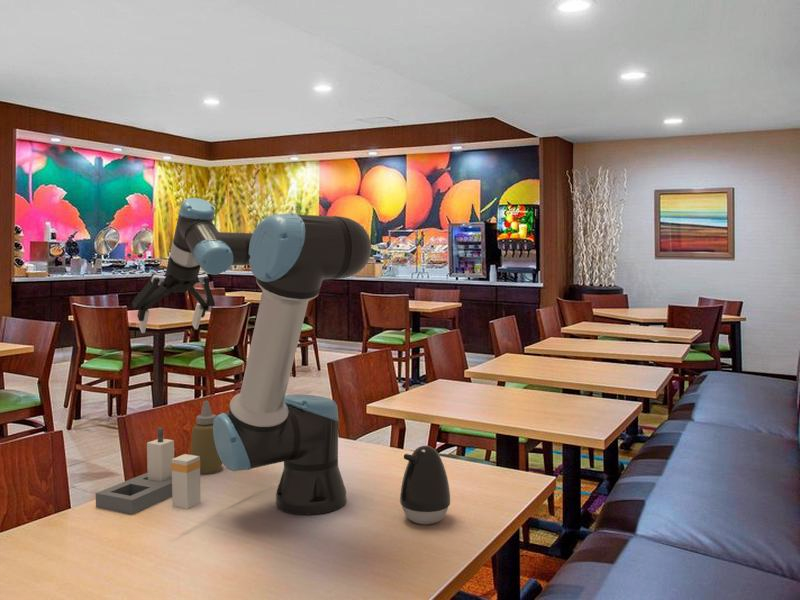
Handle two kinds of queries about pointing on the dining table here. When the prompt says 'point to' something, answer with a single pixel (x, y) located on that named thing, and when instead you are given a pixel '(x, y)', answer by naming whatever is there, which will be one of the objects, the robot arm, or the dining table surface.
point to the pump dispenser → (425, 487)
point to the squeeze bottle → (205, 441)
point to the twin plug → (160, 458)
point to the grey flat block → (134, 495)
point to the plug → (185, 481)
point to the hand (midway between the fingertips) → (168, 327)
